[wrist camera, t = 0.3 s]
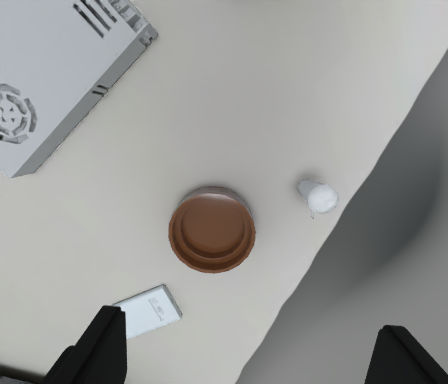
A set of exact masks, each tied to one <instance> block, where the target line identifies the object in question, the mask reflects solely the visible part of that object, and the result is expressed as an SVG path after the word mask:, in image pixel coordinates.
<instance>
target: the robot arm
mask: <svg viewBox="0 0 448 384" xmlns="http://www.w3.org/2000/svg"><path fill="white" fill-rule="evenodd" d="M126 374H127V346H126V313H125V311H121V307H119V306H106V305H104V306H103V307H102V308H101V309H100V311H99V312H98V313H97V315H96V316H95V318H94V319H93V321H92V322H91V323H90V325H89V326H88V328H87V329H86V331H85V332H84V333H83V335H82V336H81V338H80V339H79V341H78V342H77V343H76V345H75V346H69V347H68V348H66V349H65V351H64V352H63V353H62V354H61V356H60V357H59V358H58V360H57V361H56V362H55V364H54V365H53V367H52V368H51V369H50V371H49V372H48V373H47V375H46V376H45V377H44V379H43V380H42V382H41V383H40V384H124V381H125V378H126ZM364 384H448V374H447V373H446V372H445V371H444V370H443V369H442V368H441V367H440V366H439V364H438V363H437V362H436V361H435V360H434V359H433V358H432V357H431V356H430V355H429V354H428V352H427V351H426V350H425V349H424V348H423V347H422V346H421V345H420V343H419V342H417V340H416V339H415V338H414V337H413V336H412V335H411V334H410V332H409V331H408V330H407V329H406V328H405V327H402V326H393V325H385V326H384V327H383V328H382V329H380V330H379V332H378V336H377V340H376V343H375V347H374V351H373V354H372V358H371V362H370V365H369V369H368V372H367V376H366V379H365V383H364Z"/></svg>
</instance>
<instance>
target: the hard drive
mask: <svg viewBox="0 0 448 384" xmlns="http://www.w3.org/2000/svg"><path fill="white" fill-rule="evenodd" d="M112 306H119V307H121V311H125V313H126V337H127V338H128V339H130V338H133V337H135V336H138V335H140V334H143V333H146V332H148V331H151V330H153V329H156V328H159V327H161V326H164V325H166V324H169V323H171V322H174V321H176V320H179V319H181V317H182V314H181V311H180V310H179V308H178V306H177V305H176V303H175V301H174V300H173V298H172V296H171V294H170V293H169V291H168V289H167V288H166V286H165V285H161V286H159V287H156V288H154V289H151V290H149V291H146V292H144V293H141V294H139V295H137V296H134V297H132V298H129V299H127V300H124V301H122V302H119V303H117V304H114V305H112Z"/></svg>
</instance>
